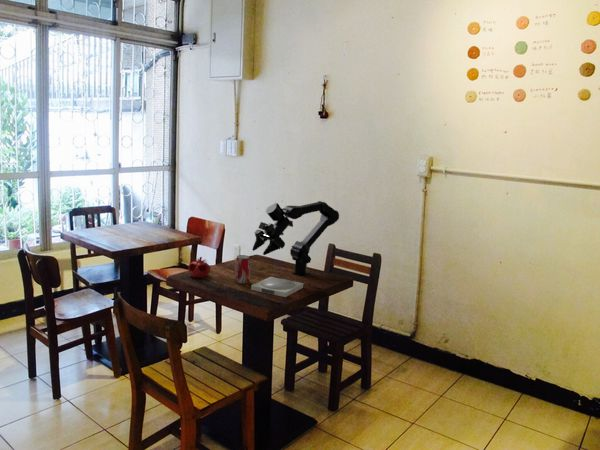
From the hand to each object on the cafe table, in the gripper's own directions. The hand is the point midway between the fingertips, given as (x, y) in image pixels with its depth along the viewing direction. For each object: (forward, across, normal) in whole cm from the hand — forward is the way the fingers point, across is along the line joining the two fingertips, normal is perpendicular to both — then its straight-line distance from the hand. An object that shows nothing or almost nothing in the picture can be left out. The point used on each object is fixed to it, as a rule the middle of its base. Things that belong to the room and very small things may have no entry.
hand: (258, 252), depth 242 cm
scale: (+9, +16, +10) cm, 21 cm away
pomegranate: (+24, -17, -5) cm, 30 cm away
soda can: (+15, 0, +4) cm, 16 cm away
